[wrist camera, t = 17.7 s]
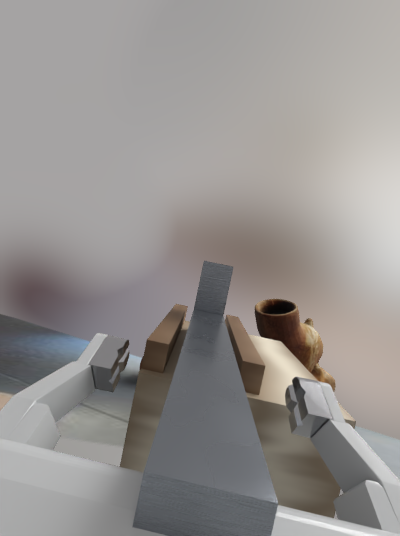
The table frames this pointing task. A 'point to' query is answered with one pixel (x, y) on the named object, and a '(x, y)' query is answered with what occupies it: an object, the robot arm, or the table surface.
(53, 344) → the table surface
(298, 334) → the ceramic vessel
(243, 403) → the bracket
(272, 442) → the stand
